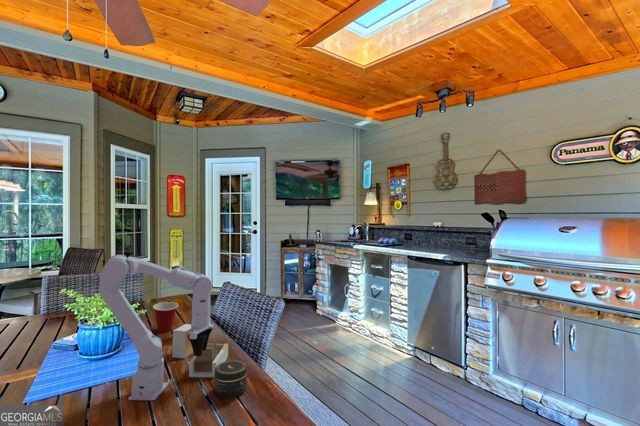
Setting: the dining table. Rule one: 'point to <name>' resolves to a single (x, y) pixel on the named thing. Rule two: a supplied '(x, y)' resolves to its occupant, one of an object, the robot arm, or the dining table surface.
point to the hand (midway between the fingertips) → (200, 352)
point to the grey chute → (220, 357)
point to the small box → (182, 342)
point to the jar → (230, 378)
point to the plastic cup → (165, 315)
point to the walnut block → (206, 358)
